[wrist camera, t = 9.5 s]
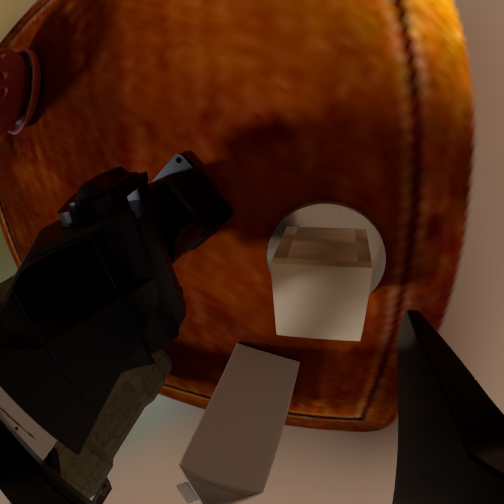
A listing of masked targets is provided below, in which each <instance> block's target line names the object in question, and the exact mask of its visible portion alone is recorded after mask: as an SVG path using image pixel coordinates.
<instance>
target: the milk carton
mask: <svg viewBox="0 0 504 504" xmlns="http://www.w3.org/2000/svg"><path fill="white" fill-rule="evenodd" d="M299 364H300V362H299V361H295V360H292V359H288V358H285V357H281V356H278V355H274V354H271V353H268V352H264V351H261V350H258V349H255V348H251V347H248V346H245V345H242V344H239V343H237V344H236V346H235V349H234V351H233V353H232V355H231V357H230V359H229V361H228V364H227V366H226V368H225V370H224V372H223V374H222V376H221V378H220V381H219V383H218V385H217V387H216V389H215V391H214V393H213V395H212V397H211V400H210V402H209V404H208V406H207V408H206V410H205V412H204V414H203V416H202V418H201V420H200V422H199V424H198V426H197V428H196V430H195V432H194V435H193V436H192V439H191V441H190V443H189V445H188V447H187V449H186V451H185V453H184V455H183V457H182V459H181V461H180V463H179V466H180V468H181V470H182V472H183V474H184V476H185V478H186V479H187V481H188V482H187V483H186V482H184V483H182V484H179V485H177V488H178V490H179V491H180V493H181V494H182V496H183V498H184V499H185V501H186V502H187V503H191V502H193V501H196V500H197V499H199V500H200V502H201V503H202V504H236V503H240V502H243V501H246V500H249V499H251V498H253V497H255V496H257V495H259V494H261V493H262V492H263V491H264V488H265V485H266V482H267V479H268V476H269V473H270V470H271V467H272V464H273V461H274V457H275V454H276V451H277V447H278V444H279V441H280V438H281V434H282V430H283V427H284V424H285V420H286V416H287V413H288V409H289V405H290V401H291V397H292V393H293V390H294V385H295V381H296V377H297V373H298V369H299Z"/></svg>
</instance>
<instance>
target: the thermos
mask: <svg viewBox="0 0 504 504" xmlns="http://www.w3.org/2000/svg"><path fill="white" fill-rule="evenodd" d="M152 357H153V359H154V361H155V362H154V363H153V364H152V365H148V366H143V367H137V368H134V369H131V370H128V371H126V372H123V373H121V375H120V376H119V378H118V380H117V382H116V384H115V386H114V387H113V389H112V391H111V393H110V395H109V397H108V399H107V401H106V402H105V404H104V406H103V408H102V410H101V412H100V414H99V416H98V418H97V420H96V422H95V424H94V426H93V428H92V430H91V432H90V434H89V436H88V438H87V441H86V443H85V445H84V447H83V449H82V451H81V453H80V455H79V456H77V455H76V454H75V453H73V452H72V451H71V450H69V449H68V448H66V447H65V446H64V445H63V444H61V443H60V442H59V441H57V442H56V443H55V445H54V447H55V448H56V449H57V450H58V456H59V463H60V469H61V475H60V476H61V477H62V478H63V479H64V480H65V481H67V482H68V483H69V484H70V485H71V486H73V487H74V488H75V489H77V490H78V491H79V492H80V493H82V494H83V495H84V496H86V497H87V498H88V499H89V498H91V497H92V496H94V495H95V494H96V495H95V496H94V498H93V500H92V501H93V502H94V503H95V504H103V502H104V501H105V499H106V497H107V495H108V494H109V492H110V491H111V489H112V487H111V485H110V482H109V480H108V478H107V475H108V473H109V472H110V470H111V469H112V467H113V458H114V456H115V454H116V453H117V451H118V450H119V448H120V446H121V445H122V443H123V441H124V440H125V438H126V437H127V435H128V434H129V432H130V430H131V429H132V427H133V426H134V424H135V422H136V421H137V419H138V418H139V416H140V414H141V413H142V411H143V409H144V408H145V406H147V405H148V404H150V403H151V402H152V401H153V400H154V399H155V398H156V396H157V395H158V393H159V391H160V390H161V388H162V386H163V385H164V383H165V379H166V377H167V375H168V374H169V373H170V371H171V370H172V367H173V366H172V361H171V360H170V358H169V356H168V355H167V354H166V352H165V351H164V350H163V349H162V350H160V351H158V352H157V353H155V354H153V355H152ZM9 504H12V503H11V502H10V503H9Z"/></svg>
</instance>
